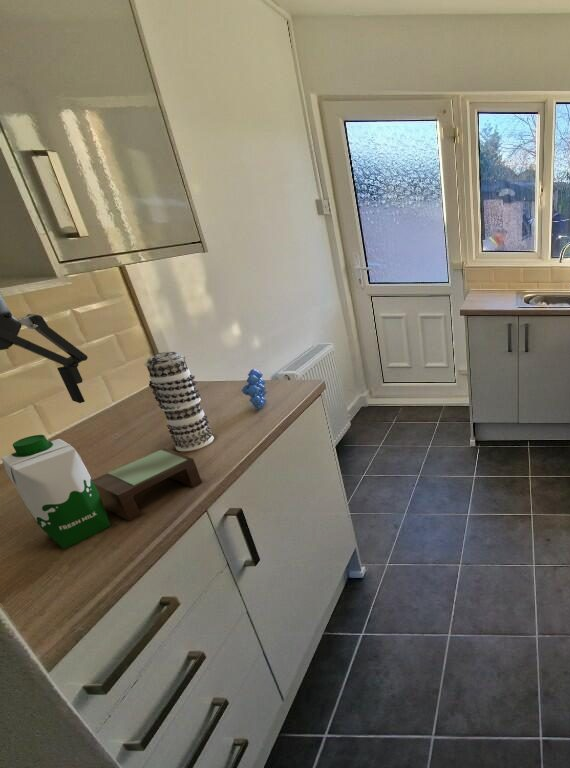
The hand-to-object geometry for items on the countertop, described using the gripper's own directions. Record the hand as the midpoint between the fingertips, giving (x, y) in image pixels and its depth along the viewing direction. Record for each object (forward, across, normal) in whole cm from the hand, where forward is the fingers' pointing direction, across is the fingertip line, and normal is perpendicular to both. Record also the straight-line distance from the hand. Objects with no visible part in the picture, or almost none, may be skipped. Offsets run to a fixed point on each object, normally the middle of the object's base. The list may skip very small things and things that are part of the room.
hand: (27, 417), depth 71 cm
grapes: (+25, +51, +21) cm, 61 cm away
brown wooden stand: (+25, +12, +1) cm, 28 cm away
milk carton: (+25, -1, +1) cm, 25 cm away
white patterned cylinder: (+25, +29, +16) cm, 42 cm away
